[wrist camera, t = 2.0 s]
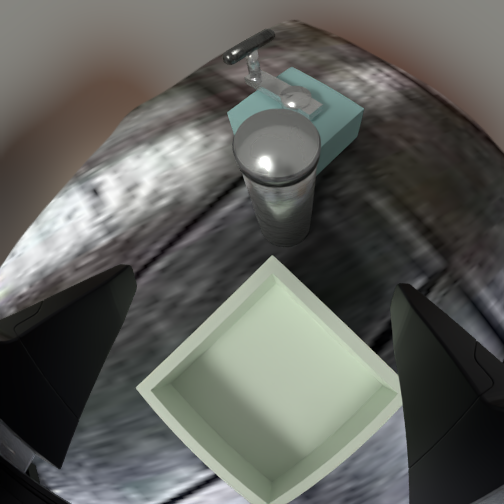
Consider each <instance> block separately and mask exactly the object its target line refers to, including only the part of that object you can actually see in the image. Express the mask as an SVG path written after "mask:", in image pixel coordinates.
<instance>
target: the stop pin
mask: <svg viewBox="0 0 504 504" xmlns="http://www.w3.org/2000/svg"><path fill="white" fill-rule="evenodd" d="M232 145H233V153H234V156H235V159H236V162H237V165H238V167H239V169H240V171H241V172H242V174H243V177H244V180H245V183H246V186H247V189H248V192H249V195H250V198H251V201H252V204H253V208H254V211H255V214H256V217H257V220H258V223H259V226H260V229H261V232H262V234H263V236H264V237H265V239H266V240H267V241H269V242H270V243H271V244H273V245H275V246H279V247H291V246H294V245H297V244H298V243H300V242H301V241H302V240H304V238H305V237H306V236H307V234H308V232H309V229H310V222H311V214H312V206H313V198H314V189H315V180H316V170H317V165H318V162H319V159H320V151H321V138H320V135H319V132H318V130H317V128H316V127H315V126H314V124H313V123H312V122H311V121H310V120H309V119H308V118H306V117H305V116H303V115H302V114H300V113H298V112H295V111H292V110H288V109H268V110H263V111H260V112H258V113H255V114H253V115H252V116H250V117H249V118H247V119H246V120H245V121H244V122H243V123H242V124H241V125H240V126H239V128H238V129H237V131H236V133H235V135H234V139H233V144H232Z"/></svg>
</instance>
